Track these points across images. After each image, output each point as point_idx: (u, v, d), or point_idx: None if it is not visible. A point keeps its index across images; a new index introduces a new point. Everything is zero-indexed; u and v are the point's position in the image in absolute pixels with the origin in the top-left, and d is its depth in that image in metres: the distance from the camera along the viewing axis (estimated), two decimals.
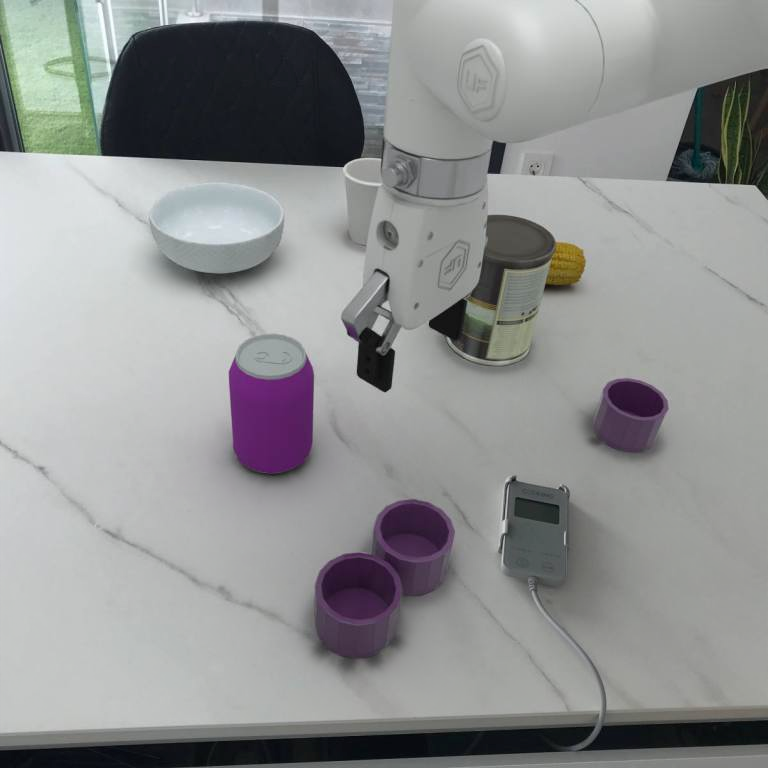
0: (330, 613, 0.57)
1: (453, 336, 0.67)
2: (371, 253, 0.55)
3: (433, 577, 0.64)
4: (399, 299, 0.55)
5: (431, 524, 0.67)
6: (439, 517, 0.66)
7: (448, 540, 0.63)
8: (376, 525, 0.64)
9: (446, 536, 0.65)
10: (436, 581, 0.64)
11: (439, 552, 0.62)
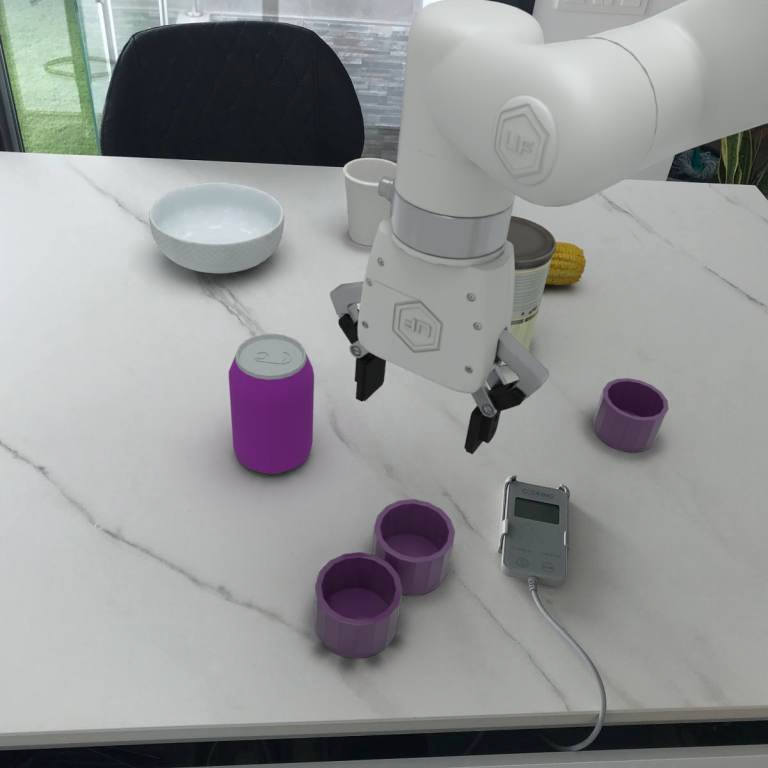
0: (330, 613, 0.57)
1: None
2: None
3: (433, 577, 0.64)
4: None
5: (431, 524, 0.67)
6: (439, 517, 0.66)
7: (448, 540, 0.63)
8: (376, 525, 0.64)
9: (446, 536, 0.65)
10: (436, 581, 0.64)
11: (439, 552, 0.62)
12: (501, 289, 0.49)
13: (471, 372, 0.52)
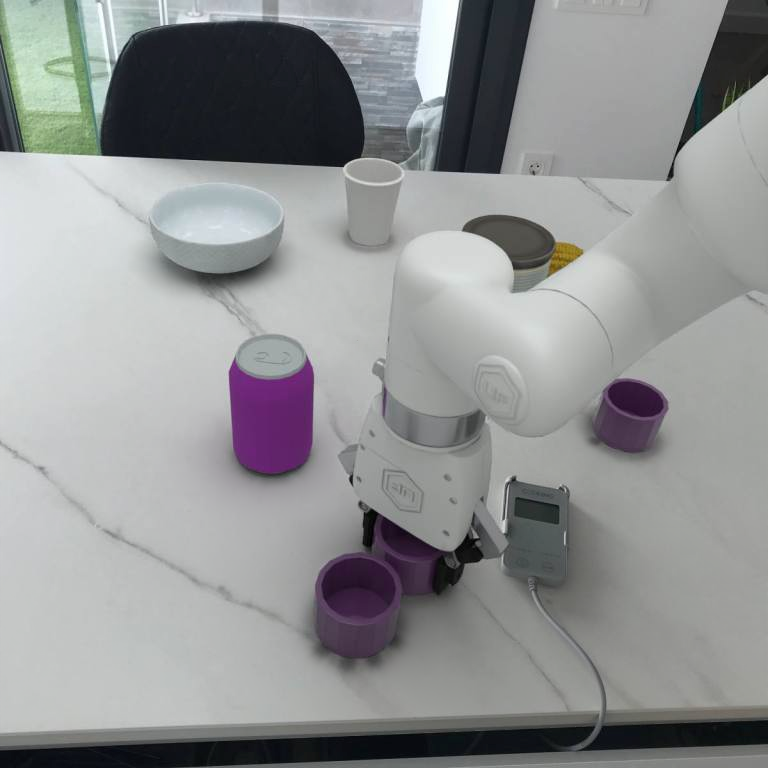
0: (330, 613, 0.57)
1: None
2: None
3: (433, 577, 0.64)
4: None
5: None
6: None
7: None
8: (376, 525, 0.64)
9: None
10: None
11: (439, 552, 0.62)
12: (475, 471, 0.54)
13: (448, 535, 0.57)
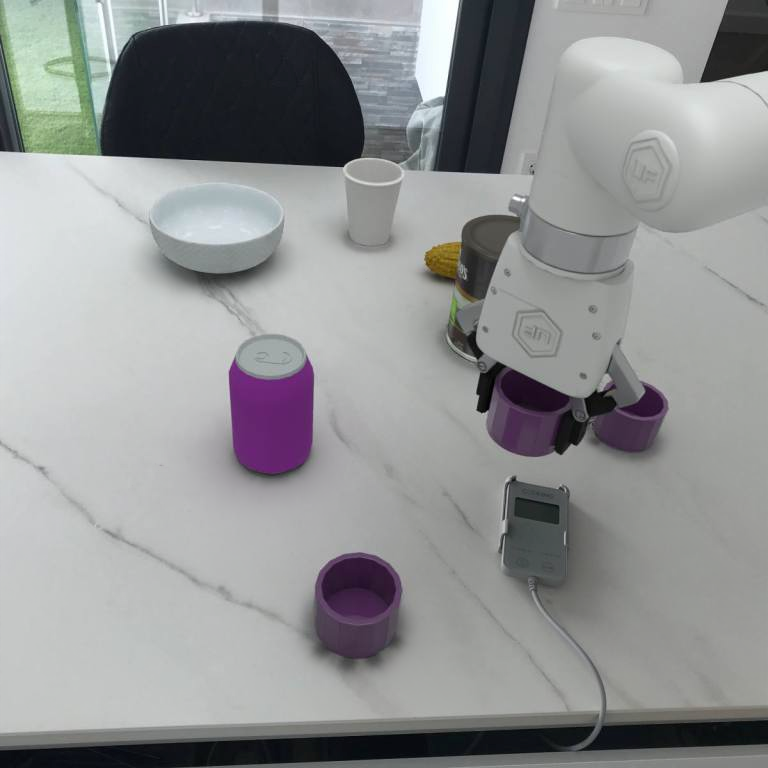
0: (330, 613, 0.57)
1: None
2: None
3: (556, 436, 0.62)
4: None
5: (547, 389, 0.65)
6: None
7: None
8: (496, 384, 0.62)
9: (566, 398, 0.63)
10: None
11: (564, 408, 0.61)
12: (621, 303, 0.53)
13: (585, 378, 0.56)
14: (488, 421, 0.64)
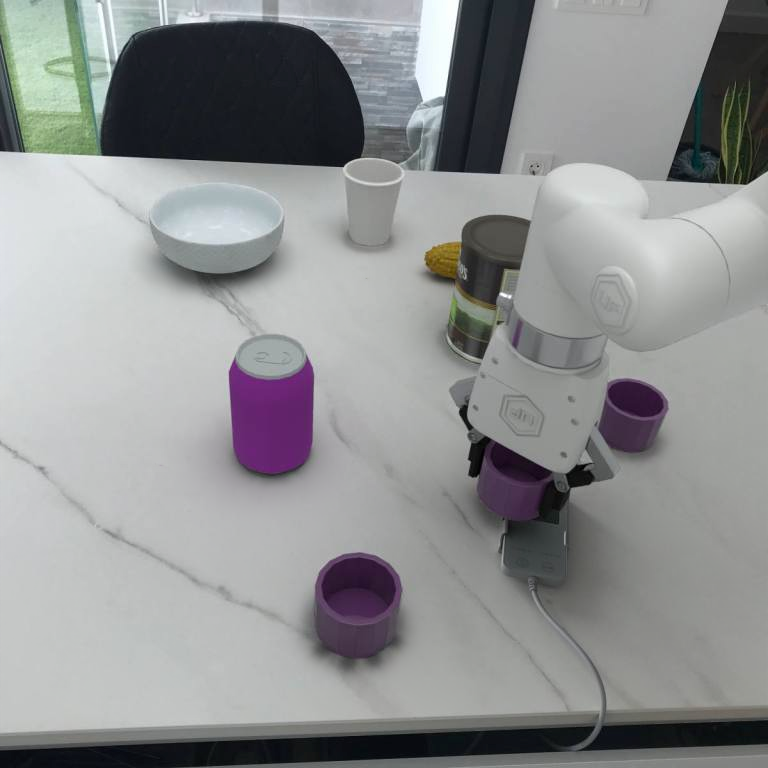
0: (330, 613, 0.57)
1: (540, 511, 0.68)
2: None
3: (540, 503, 0.67)
4: None
5: None
6: None
7: None
8: (486, 454, 0.68)
9: None
10: None
11: (548, 478, 0.66)
12: (597, 393, 0.58)
13: (565, 457, 0.61)
14: (478, 486, 0.70)
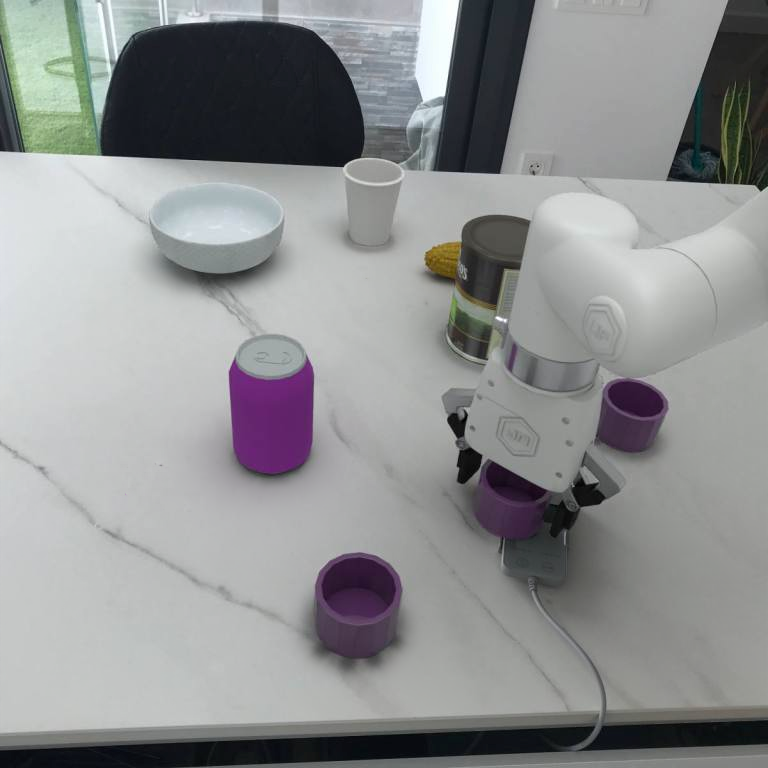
0: (330, 613, 0.57)
1: (550, 530, 0.68)
2: None
3: (535, 522, 0.69)
4: None
5: None
6: None
7: None
8: (482, 474, 0.69)
9: None
10: (537, 526, 0.70)
11: (542, 498, 0.68)
12: (591, 415, 0.59)
13: (561, 477, 0.62)
14: (475, 505, 0.71)
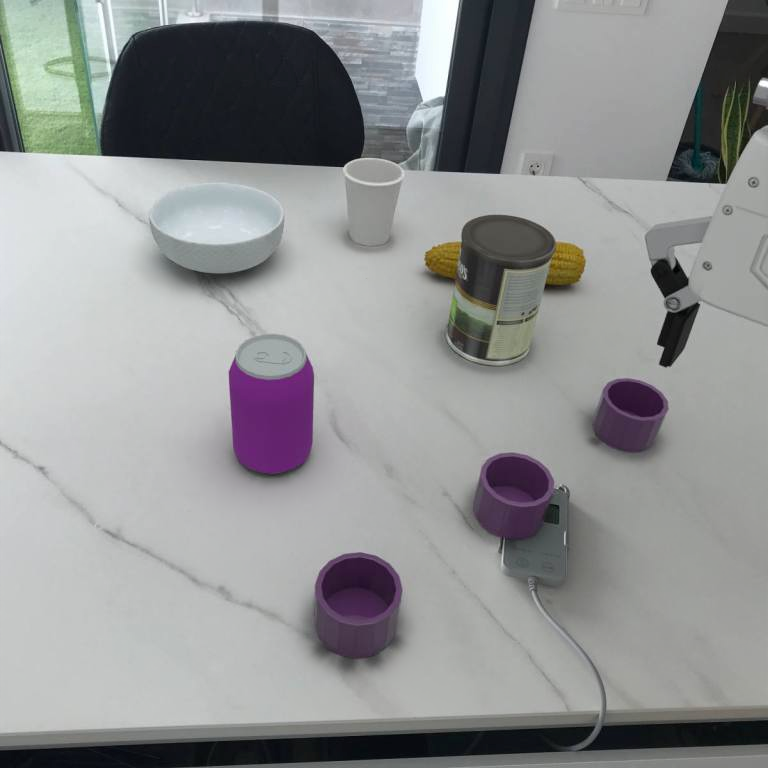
0: (330, 613, 0.57)
1: None
2: None
3: (535, 522, 0.69)
4: None
5: (528, 476, 0.72)
6: (537, 468, 0.71)
7: (549, 488, 0.69)
8: (482, 474, 0.69)
9: (545, 485, 0.70)
10: (537, 526, 0.70)
11: (542, 498, 0.68)
12: None
13: None
14: (475, 505, 0.71)
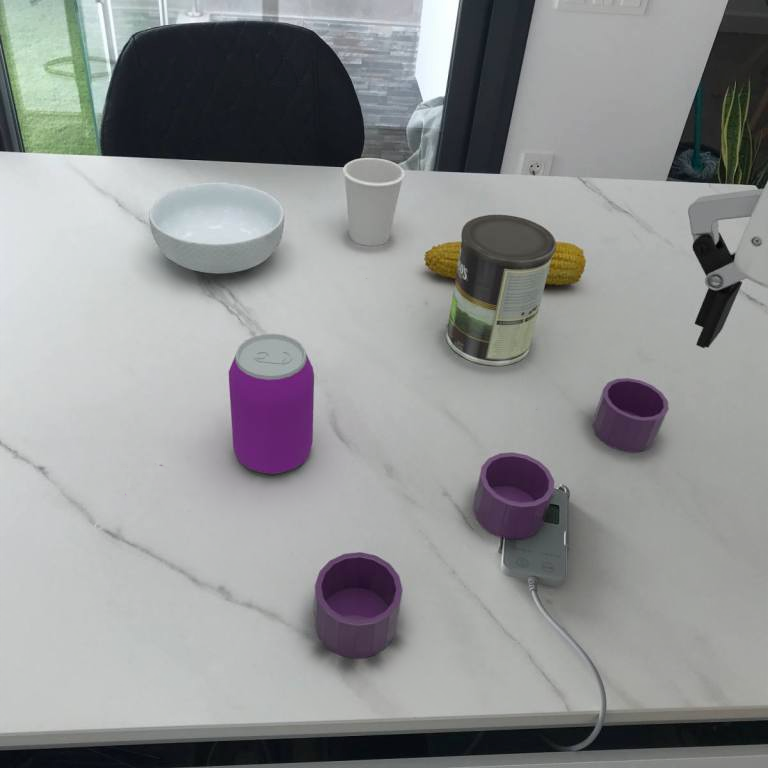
0: (330, 613, 0.57)
1: None
2: None
3: (535, 522, 0.69)
4: (748, 221, 0.43)
5: (528, 476, 0.72)
6: (537, 468, 0.71)
7: (549, 488, 0.69)
8: (482, 474, 0.69)
9: (545, 485, 0.70)
10: (537, 526, 0.70)
11: (542, 498, 0.68)
12: None
13: None
14: (475, 505, 0.71)
